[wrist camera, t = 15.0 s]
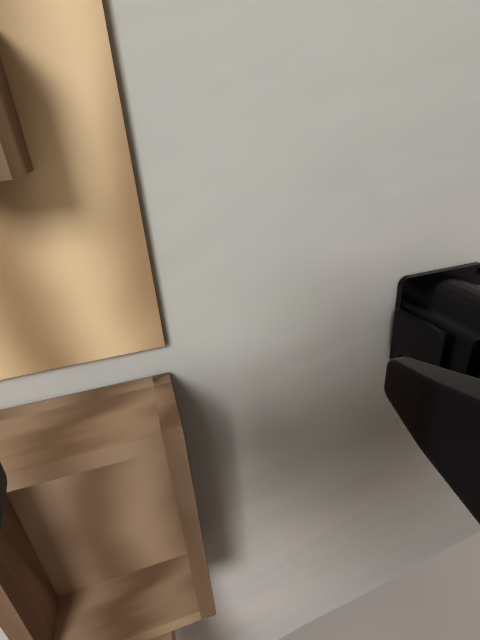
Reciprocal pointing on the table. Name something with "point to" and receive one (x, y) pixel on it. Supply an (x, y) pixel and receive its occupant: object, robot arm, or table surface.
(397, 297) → the robot arm
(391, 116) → the table surface
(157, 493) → the toolbox
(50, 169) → the lid
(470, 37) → the table surface
